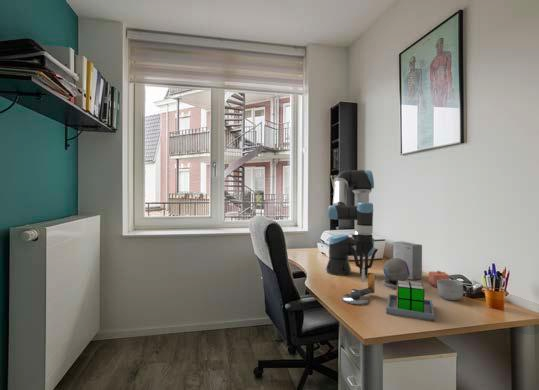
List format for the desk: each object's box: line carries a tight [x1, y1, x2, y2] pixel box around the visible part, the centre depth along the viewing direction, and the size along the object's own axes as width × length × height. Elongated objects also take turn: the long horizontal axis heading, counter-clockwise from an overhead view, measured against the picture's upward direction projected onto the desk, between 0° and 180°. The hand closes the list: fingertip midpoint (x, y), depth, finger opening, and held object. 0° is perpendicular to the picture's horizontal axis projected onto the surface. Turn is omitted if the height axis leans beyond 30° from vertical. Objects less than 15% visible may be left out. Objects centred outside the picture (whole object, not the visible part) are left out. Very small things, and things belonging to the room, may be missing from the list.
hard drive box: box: [392, 240, 423, 281], centre depth 181 cm, size 16×8×20 cm, turn 22°
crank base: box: [341, 293, 370, 306], centre depth 141 cm, size 12×12×1 cm
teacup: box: [437, 279, 464, 301], centre depth 145 cm, size 14×11×8 cm
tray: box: [385, 294, 435, 322], centre depth 130 cm, size 18×18×2 cm
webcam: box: [382, 257, 409, 290], centre depth 163 cm, size 13×13×15 cm
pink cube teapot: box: [428, 270, 451, 289], centre depth 162 cm, size 8×12×8 cm, turn 173°
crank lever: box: [350, 272, 376, 299], centre depth 144 cm, size 16×4×9 cm, turn 126°
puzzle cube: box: [396, 280, 425, 313], centre depth 130 cm, size 10×10×10 cm
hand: (363, 281), depth 150 cm, fingers closed
